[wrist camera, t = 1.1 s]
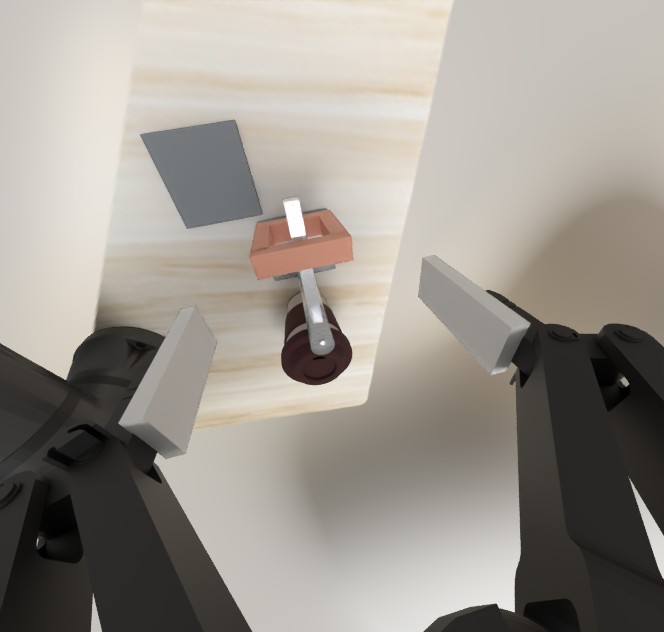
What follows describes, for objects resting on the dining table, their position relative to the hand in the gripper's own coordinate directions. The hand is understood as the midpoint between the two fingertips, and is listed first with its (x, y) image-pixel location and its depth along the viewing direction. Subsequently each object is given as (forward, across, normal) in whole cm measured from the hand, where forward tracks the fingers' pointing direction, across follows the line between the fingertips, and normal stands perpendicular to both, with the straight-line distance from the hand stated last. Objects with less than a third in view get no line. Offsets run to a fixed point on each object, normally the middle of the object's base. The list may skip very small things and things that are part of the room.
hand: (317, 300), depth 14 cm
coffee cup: (+24, -1, -17) cm, 30 cm away
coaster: (+24, -9, +5) cm, 26 cm away
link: (+15, 0, 0) cm, 15 cm away
